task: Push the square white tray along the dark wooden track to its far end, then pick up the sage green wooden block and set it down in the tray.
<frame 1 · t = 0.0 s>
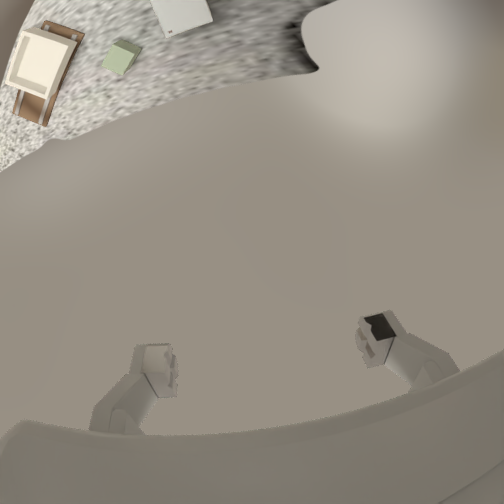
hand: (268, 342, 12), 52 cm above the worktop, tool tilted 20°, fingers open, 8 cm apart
square white tray: (41, 60, 33), point 5 cm above the worktop, slide at 0.0 cm
block: (126, 53, 41), on the worktop
track: (44, 74, 39), on the worktop
supplement box: (187, 8, 37), on the worktop
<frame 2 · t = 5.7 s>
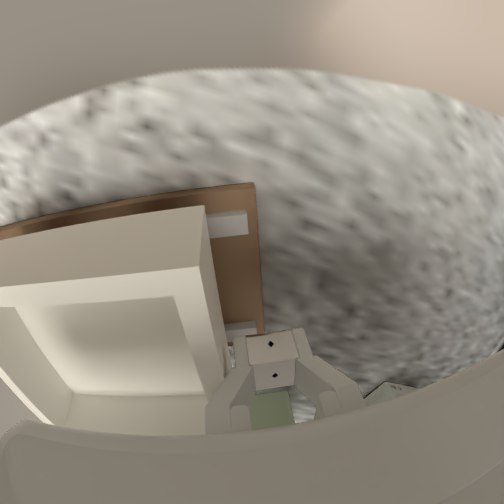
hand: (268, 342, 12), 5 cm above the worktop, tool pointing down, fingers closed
square white tray: (107, 342, 12), point 5 cm above the worktop, slide at 1.1 cm, touching gripper
block: (262, 405, 24), on the worktop
track: (79, 288, 16), on the worktop
supplement box: (379, 401, 28), on the worktop
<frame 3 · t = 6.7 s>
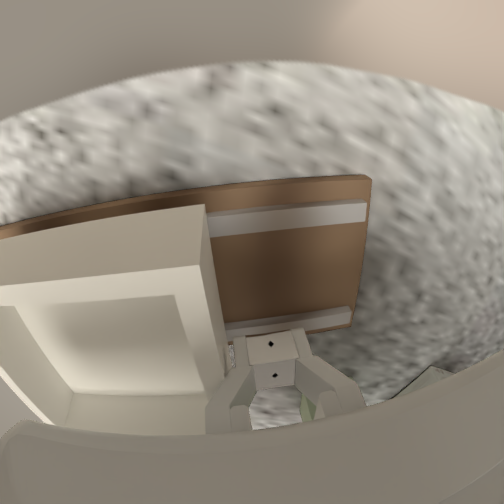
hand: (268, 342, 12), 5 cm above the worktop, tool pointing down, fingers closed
square white tray: (107, 341, 12), point 5 cm above the worktop, slide at 7.0 cm, touching gripper
block: (324, 394, 24), on the worktop
track: (167, 279, 16), on the worktop
supplement box: (420, 386, 28), on the worktop
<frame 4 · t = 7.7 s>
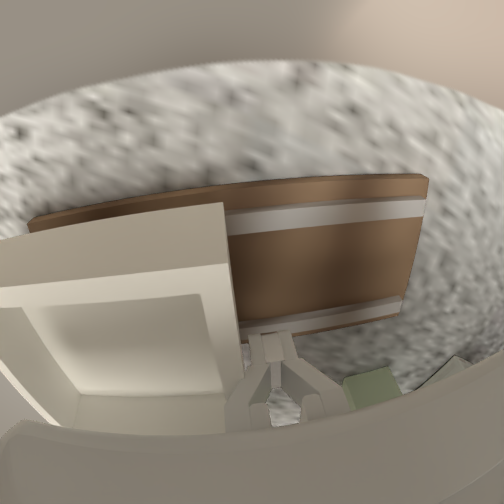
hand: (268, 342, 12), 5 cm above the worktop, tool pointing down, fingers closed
square white tray: (119, 342, 12), point 5 cm above the worktop, slide at 10.1 cm, touching gripper
block: (361, 385, 25), on the worktop
track: (234, 272, 16), on the worktop
supplement box: (443, 376, 28), on the worktop
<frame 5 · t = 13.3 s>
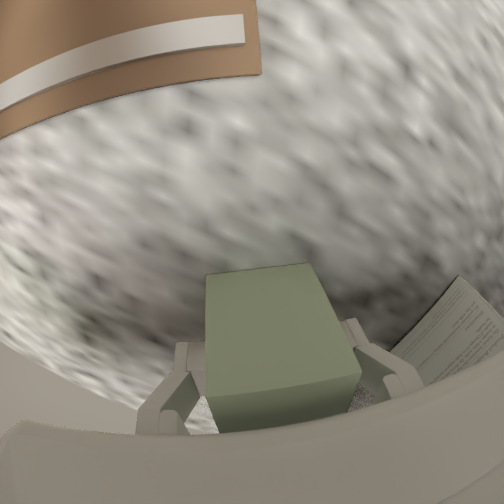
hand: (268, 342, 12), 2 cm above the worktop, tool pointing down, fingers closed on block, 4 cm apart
block: (261, 308, 14), on the worktop, touching gripper
supplement box: (443, 326, 17), on the worktop
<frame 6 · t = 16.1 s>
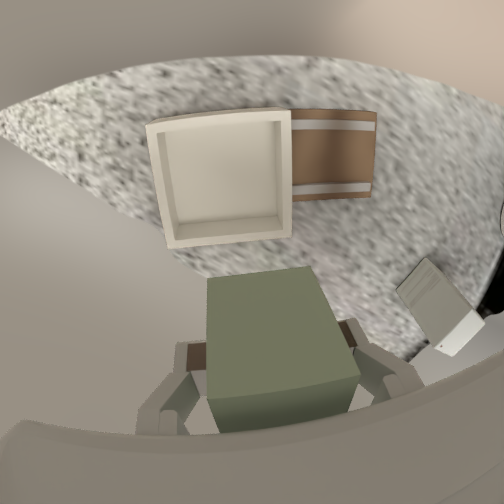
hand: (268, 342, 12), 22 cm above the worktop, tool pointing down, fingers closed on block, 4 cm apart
square white tray: (223, 172, 25), point 5 cm above the worktop, slide at 10.0 cm
block: (262, 311, 14), point 20 cm above the worktop, touching gripper
track: (276, 156, 30), on the worktop
supplement box: (420, 280, 42), on the worktop
when the fingers open (9 cm above the worktop, at t = 19.2 s): block drops 2 cm, resting on square white tray.
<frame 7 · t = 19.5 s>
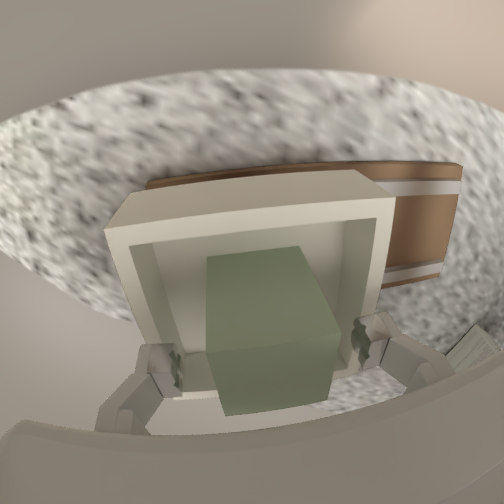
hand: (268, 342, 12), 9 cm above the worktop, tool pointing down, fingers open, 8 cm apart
square white tray: (255, 285, 15), point 5 cm above the worktop, slide at 10.0 cm, touching block
block: (256, 288, 15), point 5 cm above the worktop, touching square white tray
track: (327, 234, 20), on the worktop
supplement box: (465, 345, 32), on the worktop
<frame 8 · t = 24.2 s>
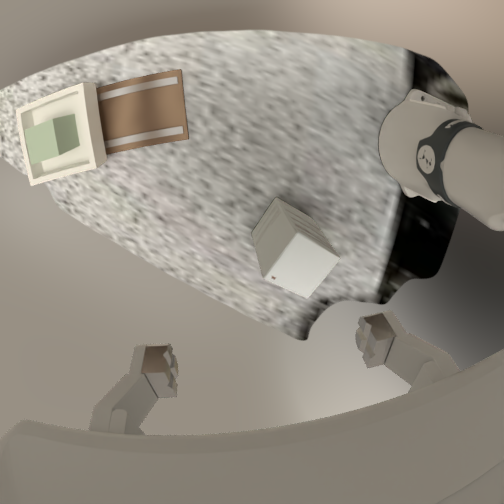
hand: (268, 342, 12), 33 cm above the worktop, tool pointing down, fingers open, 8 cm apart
square white tray: (62, 132, 31), point 5 cm above the worktop, slide at 10.0 cm, touching block
block: (63, 133, 31), point 5 cm above the worktop, touching square white tray
track: (109, 119, 35), on the worktop
supplement box: (282, 224, 47), on the worktop
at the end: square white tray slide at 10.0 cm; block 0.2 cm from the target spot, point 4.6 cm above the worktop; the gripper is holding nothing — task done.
